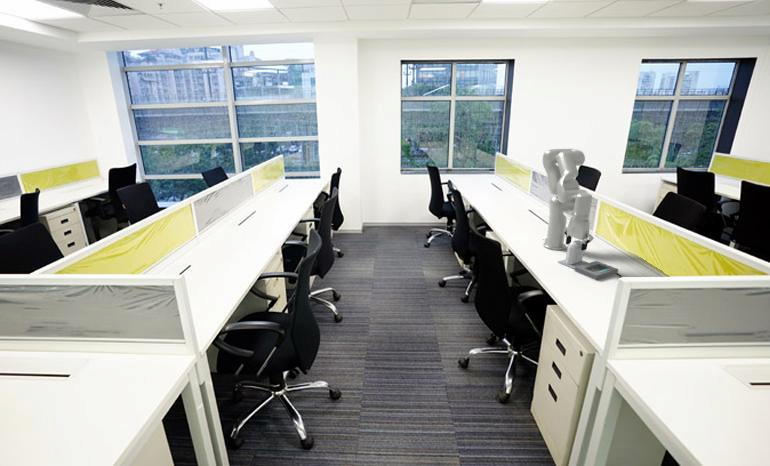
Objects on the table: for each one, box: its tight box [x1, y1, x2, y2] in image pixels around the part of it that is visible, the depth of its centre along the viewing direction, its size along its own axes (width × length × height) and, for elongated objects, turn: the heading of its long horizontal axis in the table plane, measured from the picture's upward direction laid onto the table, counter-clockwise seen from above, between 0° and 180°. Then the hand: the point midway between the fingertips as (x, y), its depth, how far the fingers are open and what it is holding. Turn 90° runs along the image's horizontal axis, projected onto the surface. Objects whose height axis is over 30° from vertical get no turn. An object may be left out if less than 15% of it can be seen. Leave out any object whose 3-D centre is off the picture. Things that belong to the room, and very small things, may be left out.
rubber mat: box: [557, 259, 589, 270], centre depth 197 cm, size 10×13×1 cm
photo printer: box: [565, 239, 585, 264], centre depth 196 cm, size 10×4×12 cm, turn 118°
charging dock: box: [574, 260, 619, 281], centre depth 186 cm, size 12×16×3 cm
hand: (575, 246), depth 195 cm, fingers open, 9 cm apart
